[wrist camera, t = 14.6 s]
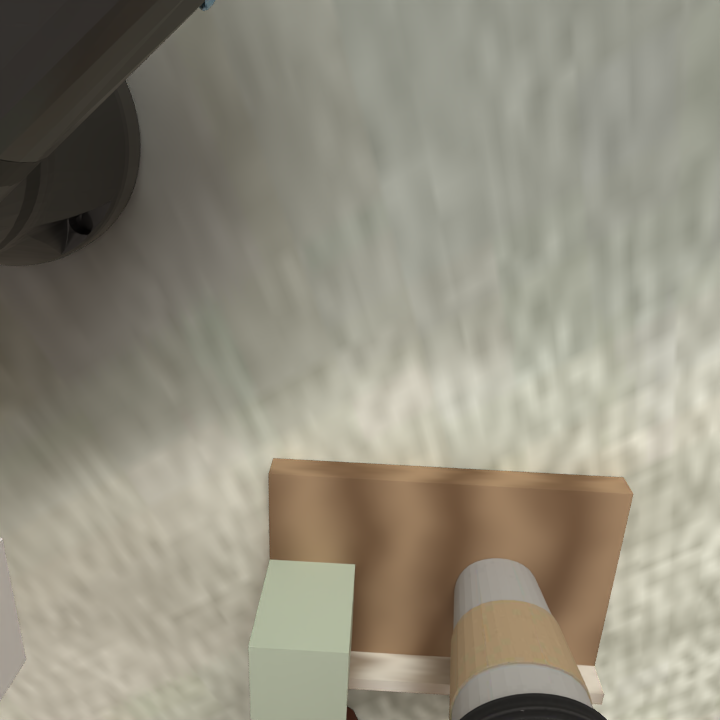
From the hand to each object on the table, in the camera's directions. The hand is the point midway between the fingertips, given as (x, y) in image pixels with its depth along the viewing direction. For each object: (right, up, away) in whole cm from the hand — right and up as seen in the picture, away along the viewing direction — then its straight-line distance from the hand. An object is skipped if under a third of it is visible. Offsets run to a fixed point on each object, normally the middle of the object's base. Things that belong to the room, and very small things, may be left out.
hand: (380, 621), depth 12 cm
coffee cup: (+9, -12, +37) cm, 40 cm away
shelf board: (+5, -10, +38) cm, 40 cm away
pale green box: (-4, -12, +38) cm, 40 cm away
